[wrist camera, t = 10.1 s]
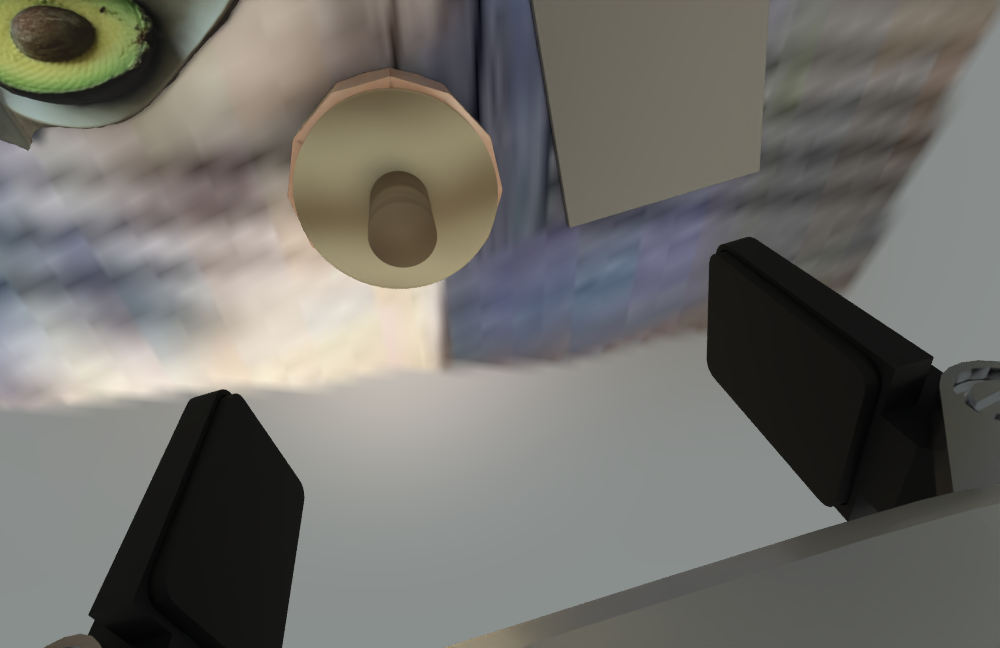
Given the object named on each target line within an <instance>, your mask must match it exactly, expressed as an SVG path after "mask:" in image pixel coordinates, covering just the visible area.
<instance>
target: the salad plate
mask: <svg viewBox="0 0 1000 648" xmlns="http://www.w3.org/2000/svg"><path fill="white" fill-rule="evenodd" d="M238 1H239V0H0V140H2V141H5V142H8V143H11V144H15V145H17V146H19V147H22V148H24V149H26V150H28V151H29V149H30V146H31V143H32V135H33V133H34V132H35V131H36V130H37V129H40V128H44V127H65V128H83V129H89V128H95V127H98V128H101V127H104V126H106V125H110V124H117V123H121V122H124V121H126V120H128V119H130V118H131V117H133V116H135V115H136V114H137V113H139V112H140V111H142V110H143V109H144V108H145V107H147V106H148V105H150V104H151V102H152V101H153V100H154V99H155V98H156V97H157V96H158V95H159V94H160V93H161V91H162V90H163V89H165V88H166V87H167V86H168V85H170V84H171V83H172V82H173V81H174V80H175V79H176V77H177V76H178V74H179V72H180V71H181V70H182V68H183V67H184V66H185V65H186V63H187V62H188V61H189V60H190V59H191V58H192V56H193V55H194V54H195V53H196V52H197V51H198V50H199V49H200V47H201V46H202V45H203V44H204V43H205V42H206V41H207V40H208V39H209V38H210V37H211V36H212V35H213V34H214V33H215V32H216V31H217V30H218V29H219V28H220V27H221V26H222V25H223V24H224V23H225V22H226V21H227V19H228V17H229V15H230V13H231V11H232V10H233V8H234V7H235V6H236V5H237V3H238Z"/></svg>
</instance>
